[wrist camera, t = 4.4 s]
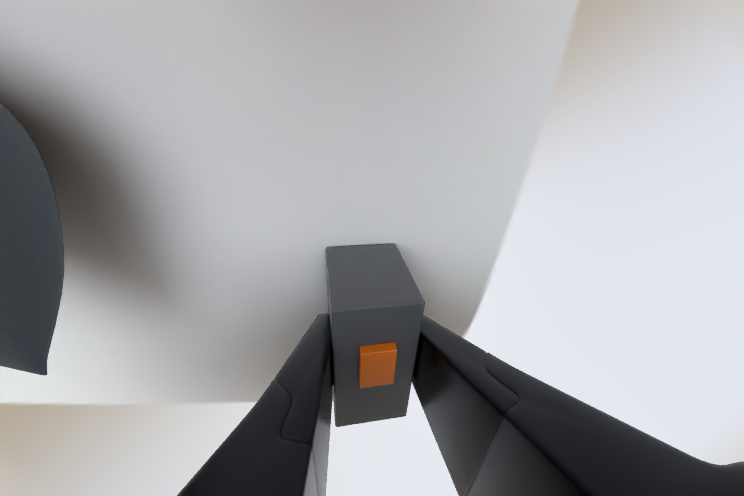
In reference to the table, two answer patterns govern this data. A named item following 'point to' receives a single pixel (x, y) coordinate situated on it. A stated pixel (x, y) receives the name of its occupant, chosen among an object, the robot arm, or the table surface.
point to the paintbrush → (27, 251)
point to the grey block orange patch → (371, 331)
